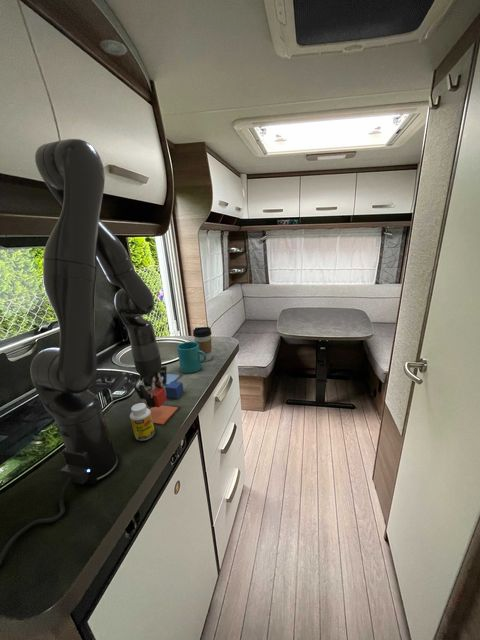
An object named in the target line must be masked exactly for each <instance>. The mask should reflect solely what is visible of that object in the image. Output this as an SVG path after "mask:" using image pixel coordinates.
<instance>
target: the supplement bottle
mask: <svg viewBox="0 0 480 640" xmlns="http://www.w3.org/2000/svg"><path fill="white" fill-rule="evenodd" d="M150 409H151V408H148V406H147V403H144V402H138V403H135V404H133V405H131V408H130V411H131V412H130V414H129V419H130V423H131V426H132V430H133V435H134V438H135V439H136V440H137V441H141V442H142V441H147V440H149V439H152V438H153V436H154V435H155V433H156V431H155V430H156V429H155V426H154V423H153V421H152V416H151V411H150Z"/></svg>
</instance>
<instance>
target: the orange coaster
mask: <svg viewBox="0 0 480 640" xmlns="http://www.w3.org/2000/svg"><path fill="white" fill-rule="evenodd" d="M149 409H150V411H151V416H152V421H153V424H157V425H165V424H166V422H167V421H168V420H170V418H171V417H172V416H173V415H174V414H175V412H177V410H178V409H179V407H177V406H170V405H164V404H162V405H161V406H160V407H154V408H152V407H150V408H149Z"/></svg>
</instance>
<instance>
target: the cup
mask: <svg viewBox="0 0 480 640" xmlns="http://www.w3.org/2000/svg"><path fill="white" fill-rule="evenodd" d="M176 350H177V356H178V362H179V366H180V367H179V369H180V371H181V372H182V373H184V374H193V373H197V372H199V371H200V370H201V369H202V364H204V363H205V362H207V361H206V358H207V357H206V354H205V353H204V352H203V351H201V350H199V344H198V343H196V342H195V341H184V342H182V343H181V342H180V343H179V344H178V345H176ZM200 353H201V354H203V355H204V360H202V361H201V359H200Z"/></svg>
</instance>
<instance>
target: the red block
mask: <svg viewBox="0 0 480 640" xmlns="http://www.w3.org/2000/svg"><path fill="white" fill-rule="evenodd" d="M148 394H150V392H149V391H148ZM153 397H154V400H155V405H156V406H155V407H160V406H161V405H164V403H165V402H166V401H167V400H168V399H167V395H166V390H165V388H156V387H155V390H154V391H153ZM145 402H146V403H145V404H146V407H149V406H148V404H147V400H146V399H145Z"/></svg>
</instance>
